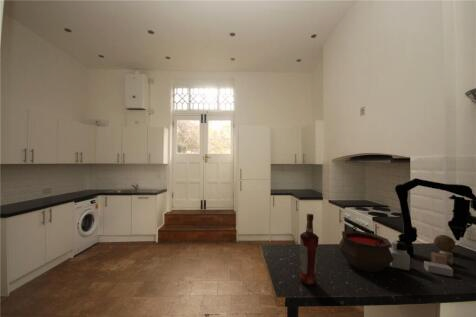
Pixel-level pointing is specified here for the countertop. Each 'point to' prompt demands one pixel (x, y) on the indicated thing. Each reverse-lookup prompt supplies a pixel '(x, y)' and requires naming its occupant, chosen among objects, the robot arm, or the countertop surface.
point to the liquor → (308, 253)
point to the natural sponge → (444, 243)
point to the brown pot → (365, 250)
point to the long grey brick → (438, 268)
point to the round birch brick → (448, 257)
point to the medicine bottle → (400, 255)
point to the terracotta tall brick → (438, 258)
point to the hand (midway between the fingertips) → (459, 238)
